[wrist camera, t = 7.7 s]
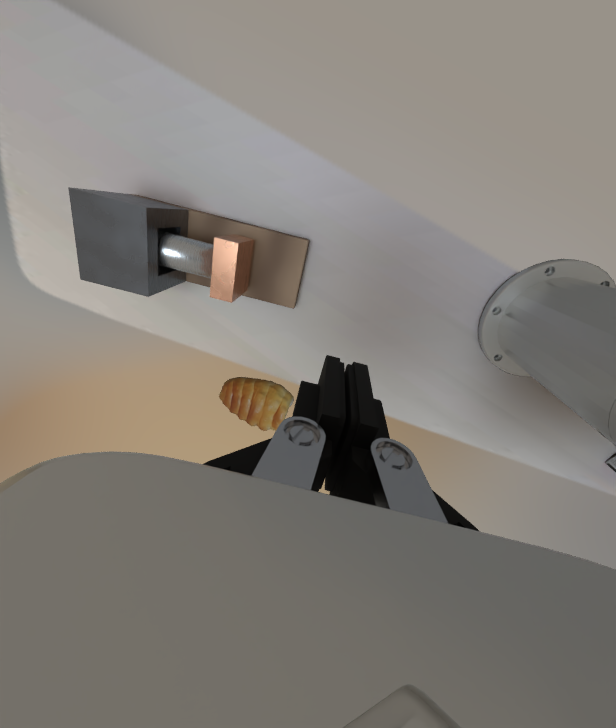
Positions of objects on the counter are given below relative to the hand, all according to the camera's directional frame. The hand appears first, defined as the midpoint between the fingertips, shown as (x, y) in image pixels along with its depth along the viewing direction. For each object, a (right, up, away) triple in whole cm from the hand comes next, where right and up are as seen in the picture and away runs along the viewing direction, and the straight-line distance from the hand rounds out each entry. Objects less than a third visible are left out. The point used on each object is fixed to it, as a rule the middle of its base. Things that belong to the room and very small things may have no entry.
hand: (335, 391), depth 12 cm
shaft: (-13, +13, +17) cm, 25 cm away
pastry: (-7, -3, +28) cm, 29 cm away
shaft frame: (-11, +13, +19) cm, 26 cm away
